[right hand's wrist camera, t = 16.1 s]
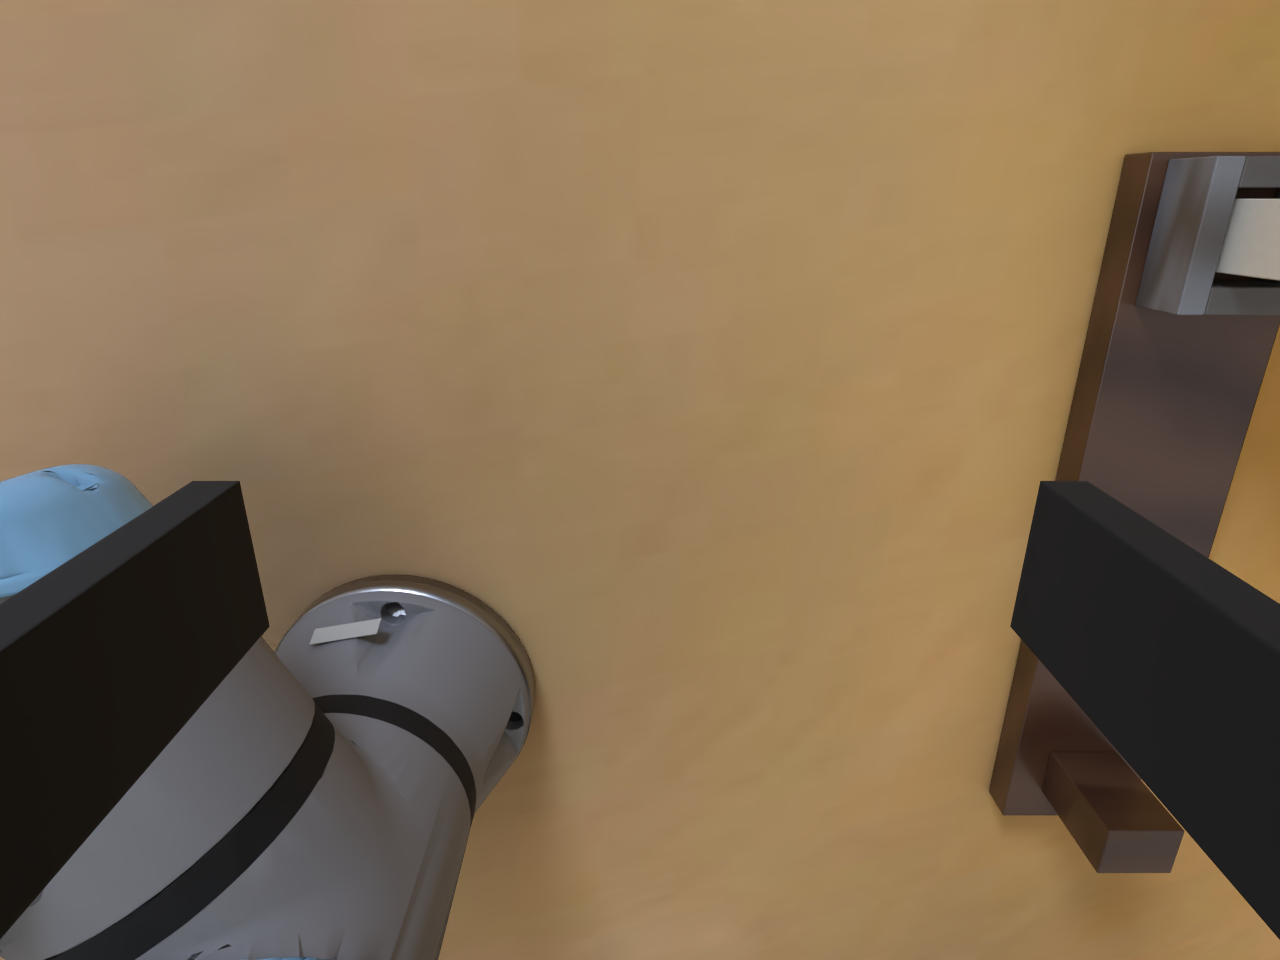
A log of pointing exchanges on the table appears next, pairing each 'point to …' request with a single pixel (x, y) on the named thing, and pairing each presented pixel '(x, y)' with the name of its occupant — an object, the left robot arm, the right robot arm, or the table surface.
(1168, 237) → the peg board
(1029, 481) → the table surface
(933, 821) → the table surface
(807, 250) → the table surface
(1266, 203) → the peg
